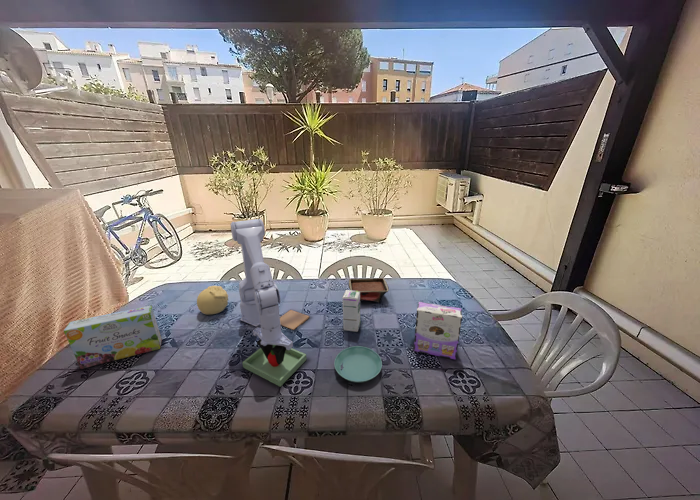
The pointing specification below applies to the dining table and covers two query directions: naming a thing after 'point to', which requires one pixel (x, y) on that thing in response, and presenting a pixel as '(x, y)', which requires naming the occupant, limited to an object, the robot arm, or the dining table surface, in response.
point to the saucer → (358, 364)
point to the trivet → (293, 319)
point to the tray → (279, 373)
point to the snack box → (113, 336)
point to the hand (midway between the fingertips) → (275, 359)
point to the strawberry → (272, 359)
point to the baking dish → (369, 288)
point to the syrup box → (351, 310)
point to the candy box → (437, 330)
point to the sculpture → (212, 300)
